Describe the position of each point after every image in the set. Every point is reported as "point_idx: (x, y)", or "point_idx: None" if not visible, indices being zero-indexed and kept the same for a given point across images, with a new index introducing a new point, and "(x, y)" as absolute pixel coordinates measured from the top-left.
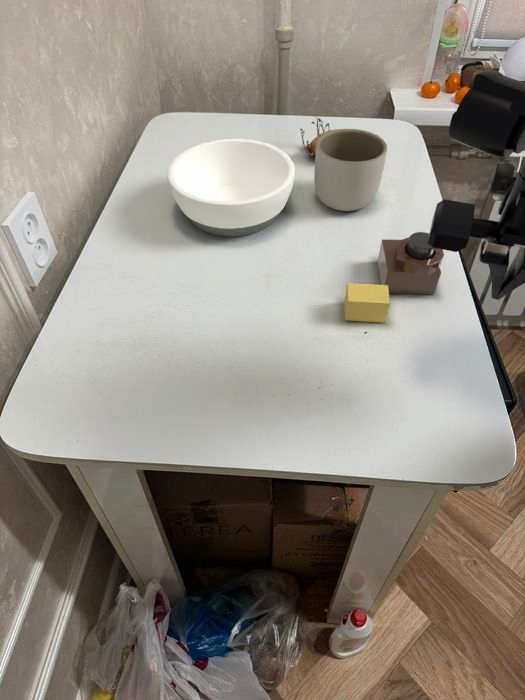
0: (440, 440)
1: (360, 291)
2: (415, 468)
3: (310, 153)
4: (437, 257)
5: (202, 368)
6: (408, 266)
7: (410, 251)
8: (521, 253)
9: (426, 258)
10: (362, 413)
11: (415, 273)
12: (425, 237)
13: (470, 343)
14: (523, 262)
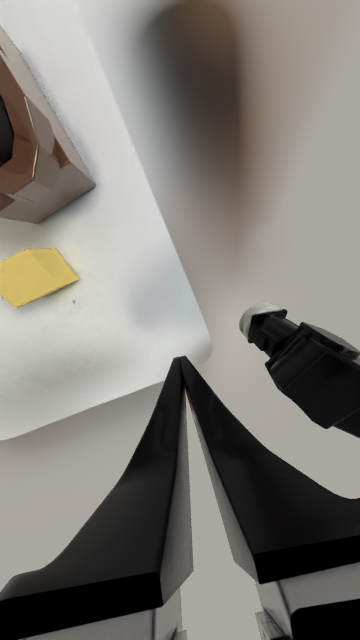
0: None
1: (8, 284)
2: None
3: None
4: (21, 126)
5: (9, 385)
6: (3, 195)
7: None
8: (229, 523)
9: (5, 149)
10: (124, 364)
11: (33, 200)
12: None
13: (170, 265)
14: (234, 554)
